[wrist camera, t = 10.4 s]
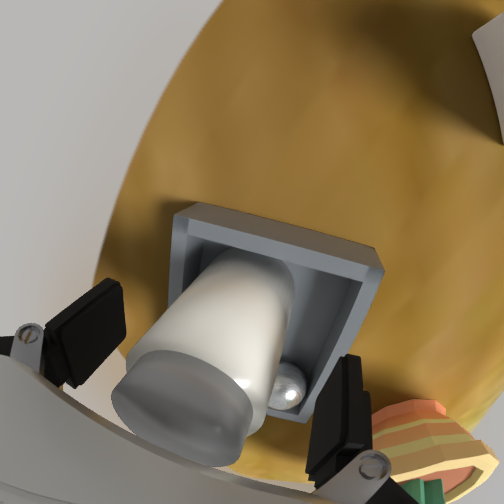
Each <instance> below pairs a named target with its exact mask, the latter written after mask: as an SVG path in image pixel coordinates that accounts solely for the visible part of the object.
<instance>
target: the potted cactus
mask: <svg viewBox="0 0 504 504" xmlns="http://www.w3.org/2000/svg"><path fill="white" fill-rule="evenodd" d="M372 438H373V450H377V451H380V452H382V453H383V454H385V455H386V456H387V457H388V458H389V460H390V462H391V468H392V470H391V474H390V477H391V478H392V479H393V480H394V481H395V482H396V483H398V484H399V485H400V486H401V487H402V488H403V489H404V490H405V491H406V492H407V493H408V494H409V495H410V496H412V497H413V498H414V499H415V500H416V501H417V502H418V503H419V504H449V503H451V502H453V501H455V500H457V499H459V498H461V497H462V496H464V495H466V494H467V493H469V492H470V491H472V490H473V489H474V488H476V487H477V486H479V485H480V484H482V483H483V482H484V481H486V480H487V479H488V477H489V476H490V475H491V473H492V472H493V471H494V469H495V468H496V466H497V465H498V464H499V460H498V459H497V457H496V455H495V453H494V452H493V450H492V449H491V448H490V447H488V446H487V445H486V444H485V443H484V442H482V441H481V440H475V439H474V438H473V437H472V435H471V434H470V433H469V432H468V431H467V430H466V429H465V428H464V427H462V426H461V425H460V424H459V423H458V422H456V421H455V420H453V419H451V418H449V417H447V416H446V409H445V408H444V407H443V406H442V405H441V404H440V403H438V402H437V401H436V400H424V399H411V400H408V401H404V402H401V403H397V404H393V405H389V406H386V407H384V408H382V409H380V410H379V411H377V412H375V413H374V414H372Z"/></svg>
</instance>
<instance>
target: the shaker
mask: <svg viewBox="0 0 504 504" xmlns="http://www.w3.org/2000/svg"><path fill="white" fill-rule="evenodd" d="M294 298H295V283H294V279H293V276H292V274H291V272H290V270H289V268H288V267H287V266H286V264H285V263H284V262H283V261H282V260H280V259H276V258H273V257H269V256H265V255H262V254H258V253H254V252H251V251H247V250H243V249H240V248H236V247H232V248H229V249H227V250H225V251H223V252H222V253H221V254H219V255H218V256H217V257H216V258H215V259H214V260H213V261H212V262H211V263H210V264H209V266H208V267H207V268H206V269H205V270H204V271H203V272H202V273H201V274H200V275H199V276H198V277H197V278H196V279H195V280H194V281H193V283H192V284H191V285H190V286H189V287H188V288H187V289H186V290H185V291H184V292H183V293H182V294H181V295H180V296H179V298H178V299H177V300H176V301H175V302H174V303H173V304H172V305H171V306H170V307H169V308H168V309H167V310H166V312H165V313H164V314H163V315H162V316H161V317H160V318H159V319H158V320H157V321H156V322H155V324H154V325H153V326H152V327H151V328H150V329H149V330H148V331H147V332H146V333H145V335H144V336H143V337H142V338H141V339H140V340H139V341H138V342H137V343H136V344H135V346H134V347H133V348H132V349H131V350H130V352H129V353H128V356H127V359H126V371H127V374H126V375H125V376H124V377H123V378H122V380H121V381H120V382H119V383H118V385H117V386H116V387H115V388H114V390H113V391H112V395H111V400H112V404H113V407H114V409H115V411H116V413H117V414H118V416H119V417H120V419H121V420H122V421H123V422H124V424H125V425H126V426H127V427H128V428H129V429H130V430H131V431H132V432H133V433H134V434H136V435H137V436H138V437H140V438H142V439H144V440H146V441H148V442H150V443H152V444H154V445H156V446H159V447H161V448H163V449H165V450H168V451H170V452H172V453H175V454H177V455H179V456H182V457H184V458H187V459H190V460H192V461H195V462H197V463H200V464H203V465H206V466H209V467H223V466H228V465H231V464H233V463H235V462H236V461H237V460H238V459H239V457H240V454H241V451H242V448H243V445H244V442H245V439H246V437H247V436H249V435H251V434H253V433H255V432H256V431H257V430H258V429H259V428H260V427H261V426H262V424H263V423H264V420H265V416H266V412H267V409H268V405H269V401H270V398H271V394H272V390H273V386H274V383H275V379H276V375H277V371H278V367H279V363H280V359H281V355H282V351H283V346H284V342H285V338H286V334H287V329H288V325H289V320H290V316H291V311H292V307H293V302H294Z"/></svg>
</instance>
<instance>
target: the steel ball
mask: <svg viewBox="0 0 504 504" xmlns="http://www.w3.org/2000/svg"><path fill="white" fill-rule="evenodd" d="M306 392H307V379H306V376H305V374H304V373H303V371H302V370H301V369H300V368H299V367H297V366H296V365H294V364H292V363H288V362H280V363H279V367H278V371H277V375H276V379H275V383H274V386H273V390H272V394H271V398H270V401H269V405H268V406H269V407H270V408H273V409H277V410H286V409H290V408H293V407H295V406H296V405H298V404H299V403H300V402H301V401H302V400H303V398H304V397H305V395H306Z"/></svg>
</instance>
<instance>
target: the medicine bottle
mask: <svg viewBox="0 0 504 504" xmlns="http://www.w3.org/2000/svg"><path fill="white" fill-rule="evenodd" d="M472 38H473V40H474V43H475V45H476V47H477V50H478V52H479V55H480V58H481V60H482V63H483V66H484V69H485V72H486V75H487V78H488V81H489V84H490V88H491V91H492V95H493V98H494V102H495V106H496V110H497V114H498V119H499V124H500V129H501V134H502V140H503V143H504V12H503V13H501V14H500V15H498V16H497V17H495V18H494V19H492V20H491V21H489V22H488V23H486V24H485V25H483V26H482V27H480V28H479V29H477V30H476V31H474V32H473V34H472Z"/></svg>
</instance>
